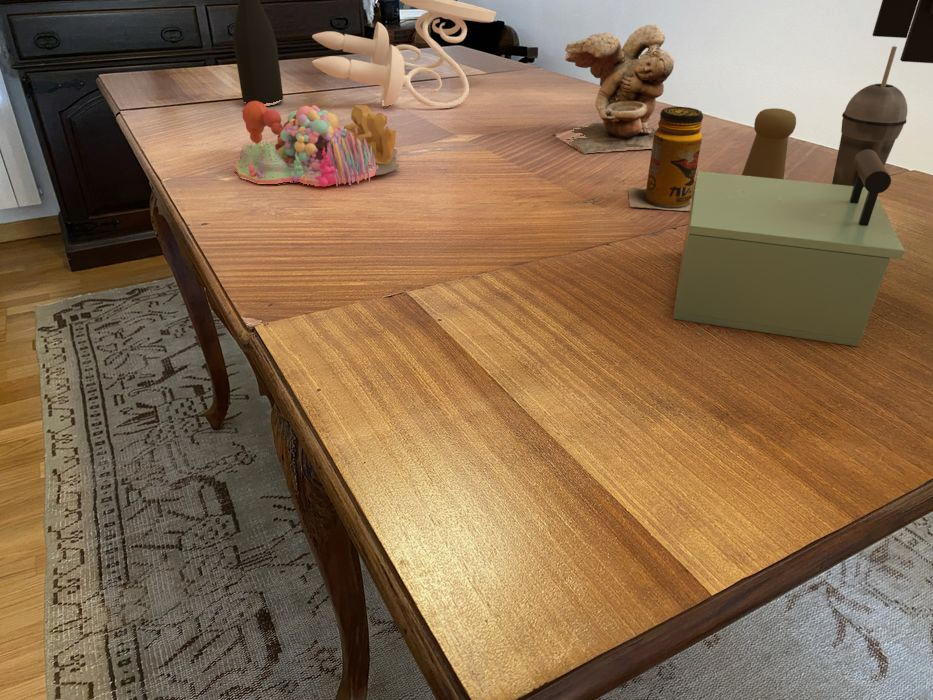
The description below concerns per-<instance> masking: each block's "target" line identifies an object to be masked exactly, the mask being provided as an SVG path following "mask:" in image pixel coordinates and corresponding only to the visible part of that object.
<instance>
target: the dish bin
mask: <svg viewBox="0 0 933 700" xmlns="http://www.w3.org/2000/svg"><path fill="white" fill-rule="evenodd" d="M695 182H696V180H694V183H695ZM694 189H695V185H693V190H694ZM693 197H694V191H692V196H691V198H692V203H691V208H690V211H689V214H688V215H689V216H688V218H687V219H688V220H687V225H686V231H685V235H684V240H683V241H684V242H683V245H682V246H683V247H682V253H681V259H680V265H679V266H680V267H679V273H678V279H677V286H676V287H677V288H676V293H675V300H674V307H673V315H672V319H673V320H679V321H685V322H692V323H699V324H705V325H711V326H719V327H725V328H732V329H738V330H745V331H751V332H758V333H765V334H771V335H779V336H785V337H792V338H798V339H806V340H809V341H810V340H811V341H818V342H825V343H831V344H836V345H837V344H838V345H844V346H850V347H851V346H852V347H856V348H857V347H860V344H861V342H862V339H863V336H864V333H865V331H866V327H867V324H868V322H869V319H870V316H871V313H872V311H873V307H874V305H875V302H876V299H877V297H878V294H879V290H880V288H881V286H882V282H883V279H884V277H885V274H886V271H887V268H888V265H889V263H890V259H891V258H887V257H878V256H870V255H862V254H853V253H845V252H837V251H828V250H820V249H812V248H803V247H795V246H787V245H778V244H770V243H762V242H753V241H745V240H737V239H728V238H720V237H712V236H703V235H695V234H689V227H690V219H691V212H692V204H693Z"/></svg>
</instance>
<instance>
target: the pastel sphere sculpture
mask: <svg viewBox="0 0 933 700" xmlns="http://www.w3.org/2000/svg"><path fill="white" fill-rule="evenodd" d="M350 113H351V115H350V120H351V121H352V122H350V123H349V124H346V125H344V127H343V126H342V125H341V124H340V123H341V122H340V120H339V118H338V116H337V114H335V113H334V112H329V111H328V110H325V109H320V108H319V107H318V106H317V105H316V104H311V106H308V105H302V106H300V107H298V109H296V110H292V111H291V112H290V113H289V114H288V116H287V121H286V122H284V124H281V123H282V116H281V114H280V113H279V112H278V110H275V109H269V108H268V107H266V106H265V105H264V104H263V103H261V102H259V101H251V102H248V103H247V104H245V105H244V106H243V108H242V119H243V122H244V124H245V129H246V131H247V133H249V139H250V141H252V143H250V144H245V145H243V146H242V147H240V148H241V150H240V152H239V155H238V157H237V159H236V160H235V162H234V167H233V170H234V171H235V170H236V171H237V173H238V174H237V173H236V174H237V176H238V175H239V176H240V177H243V178H246V179H249V180H251V181H254V182H256V183H265V184H278V183H283V182H290V181H291V182H290V183H298V182H301V183H303V184H302V185H304V184H307V185H306V186H313V185H314V186H313V187H322V188H324V187H328V186H329V187H330V186H332V185H333V186H334V185H335V186H336V187H338V185H341V184H343V185H346V184H347V183H348V186H349V185H351V186H352V184H354V183H357V185H359V184H360V181H363V180H364V181H367V179H368V182H369V181H370V182H371V178H373V177H374V176H380V175H385V174H388V173H391V172H393V171H396V169H397V168H399V167H400V164H399V163H397V162H395V161H394V160H393V158H394V157H395V156H396V155H397V154H398V149H396V148H395V146H396V138H397V130H395V129H390V128H389V126H388V125H387V124H388V116H387V115H385V114H384V113H383V112H382V113H381V112H378V113H376V114H374V112H373V111H372V109H371V108H370V107H369V106H367V105H366V104H353V106H352V110H351V112H350ZM265 127H268V128H269V129H270V131H271V132H272V133H273V134H274V135H275V136H276V135H277V140H276V141H273V142H268V141H262V140H263V134H262V133H263V132H264V130H265ZM253 143H254V144H253ZM235 164H236V165H235ZM239 176H238V177H239ZM293 181H294V182H293ZM357 181H358V182H357ZM301 183H300V184H301ZM283 184H284V183H283ZM309 184H310V185H309ZM278 185H279V184H278Z"/></svg>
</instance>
